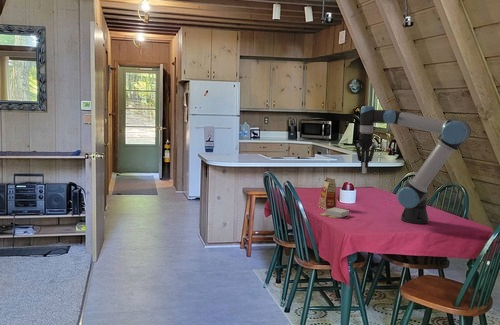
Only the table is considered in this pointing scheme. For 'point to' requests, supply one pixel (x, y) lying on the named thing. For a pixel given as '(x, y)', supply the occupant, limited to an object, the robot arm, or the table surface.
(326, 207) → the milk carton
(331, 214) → the tile
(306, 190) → the table surface
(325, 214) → the cork mat
